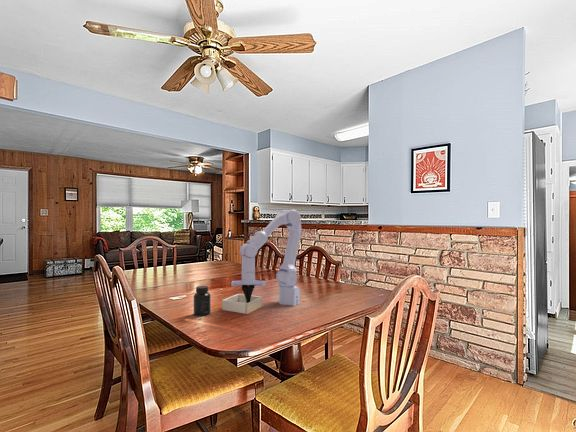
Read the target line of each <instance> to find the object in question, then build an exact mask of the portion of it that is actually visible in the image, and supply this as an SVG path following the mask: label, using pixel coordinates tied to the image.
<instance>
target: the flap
mask: <svg viewBox="0 0 576 432" xmlns="http://www.w3.org/2000/svg"><path fill="white" fill-rule="evenodd" d="M259 297H260V298H257V299H255V300H253V301H251V302H249V303H246V315H248V314H251V313H252V312H255V311H256V310H258V309H260V308H262V307H263V296H259Z"/></svg>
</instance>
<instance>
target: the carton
mask: <svg viewBox="0 0 576 432" xmlns="http://www.w3.org/2000/svg"><path fill="white" fill-rule="evenodd" d="M260 297H261V296H259V295H258V296H257V295H253V294H252V295H251V299H250V302H251V301H253V300H255V299H257V298H260ZM221 310H222V311H225V312H226V311H227V312H234V313H237V314H246V298H245V295H244V293H237V294H234V295H231V296H229V297H227V298H223V299H222V300H221ZM246 315H247V314H246Z"/></svg>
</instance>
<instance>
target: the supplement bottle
mask: <svg viewBox="0 0 576 432" xmlns="http://www.w3.org/2000/svg"><path fill="white" fill-rule="evenodd" d="M211 311H212V310H211V293H210V292H209V286H208V285H199V286H198V285H197V286H196V287H195V293H194V294H193V316H194V317H206V316H208V315H210V314H211V313H212V312H211Z"/></svg>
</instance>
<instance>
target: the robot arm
mask: <svg viewBox="0 0 576 432" xmlns="http://www.w3.org/2000/svg"><path fill="white" fill-rule="evenodd" d="M301 219H302V216H301V214H300V213H299V212H298V210H297V209H282V210H280V211H279V212H277V214H276V215H275V217H274V218H273V219H272V220H271V221H270V222H269V223H268V224H267V226H266V227H265V228H264V229H263V230H258V231H256V232H255V233H253V234H254V235H253V236H252V237H251V238H250V239H247V241H246V243H244V244H242V245H241V246H240V248H239V254H240V255H241V279H240V280H232V281H231V283H230V285H231V287H241V290H242V292H243V294H244V295H245V298H246V303H249V302H250V299H251V295H252V296H253V291H254V289H255V287H265V286H266V281H265V280H256V256H257V254H258V251H259V250H260V249H261V248H262V247H263V246H264V244H265V243H267V242H268V239H269V236H270V235H271V234H272V233H273V232H275V230H277V229H278V227H280V226H283V225H285V227H286V228H287V230H288V231H289V232H288V238H287V242H286V243H287V244H286V248H285V252H284V258H283V262H282V263H281V265H280V266H279V268H278V271H277V272H276V275H275V276H276V277H275V279H276V280H277V282H278V304H279V305H282V306H292V307H295V306H297V305H298V304H300V303H301V299H300V298H301V296H300V295H301V290H300V287H299V286H296V283H297V281H298V276H297V272H298V270H297V268H296V260H297V256H298V255H297V254H298V251H299V246H300V245H299V244H300V240H301V235H302V223H301Z"/></svg>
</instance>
